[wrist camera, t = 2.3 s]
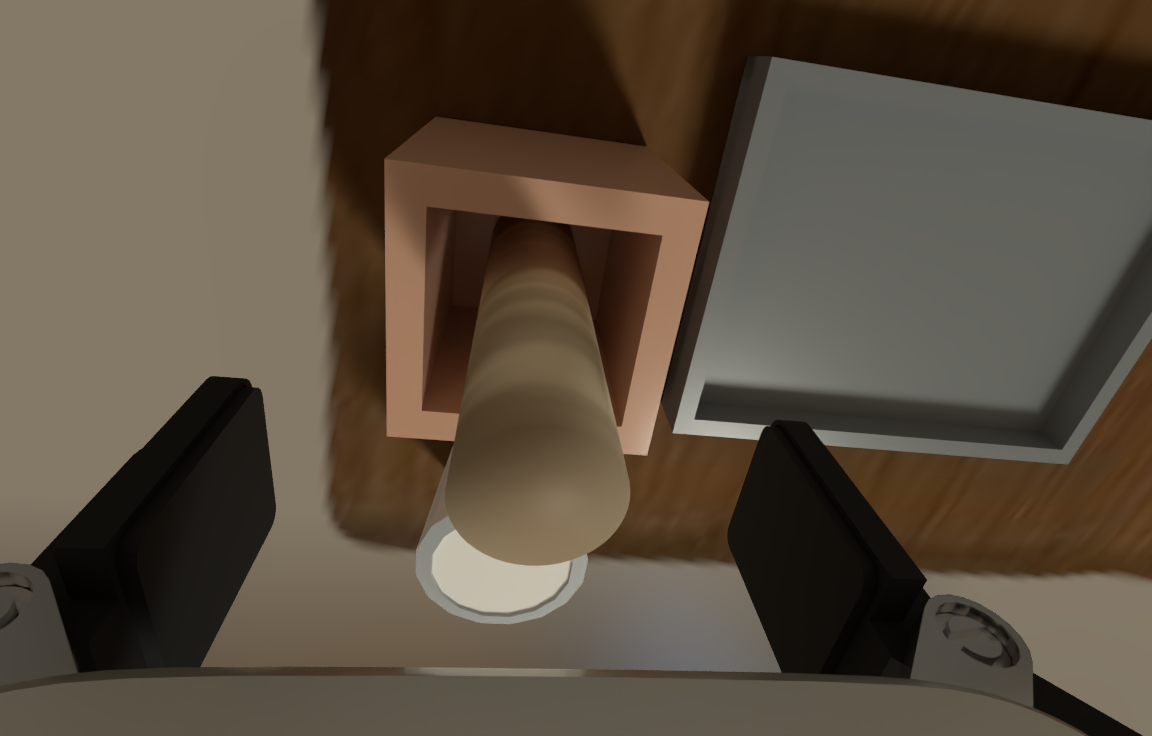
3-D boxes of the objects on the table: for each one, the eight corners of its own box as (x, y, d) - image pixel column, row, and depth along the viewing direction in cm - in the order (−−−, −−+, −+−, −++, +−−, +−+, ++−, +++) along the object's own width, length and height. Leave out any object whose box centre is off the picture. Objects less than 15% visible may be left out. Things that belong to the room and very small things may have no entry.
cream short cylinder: (457, 386, 27) (437, 485, 21) (595, 422, 29) (613, 525, 23) (423, 496, 30) (397, 611, 24) (550, 524, 32) (556, 638, 26)
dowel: (525, 184, 22) (521, 388, 9) (589, 237, 23) (667, 484, 10) (475, 248, 23) (407, 514, 10) (539, 295, 24) (552, 588, 11)
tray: (1213, 133, 24) (1282, 142, 22) (1030, 434, 31) (1067, 464, 29) (747, 55, 22) (772, 56, 19) (661, 403, 29) (672, 432, 26)
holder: (647, 146, 23) (709, 201, 15) (611, 333, 27) (647, 455, 19) (435, 116, 22) (384, 159, 14) (430, 314, 26) (387, 436, 18)
